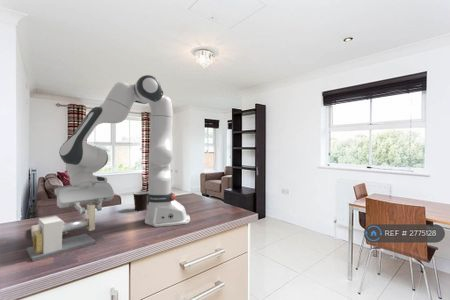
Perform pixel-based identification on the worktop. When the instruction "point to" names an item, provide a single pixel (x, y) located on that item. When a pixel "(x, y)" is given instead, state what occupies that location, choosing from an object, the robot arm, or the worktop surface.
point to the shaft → (82, 221)
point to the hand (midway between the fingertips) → (91, 211)
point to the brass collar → (37, 241)
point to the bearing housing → (57, 239)
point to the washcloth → (35, 227)
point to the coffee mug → (140, 200)
